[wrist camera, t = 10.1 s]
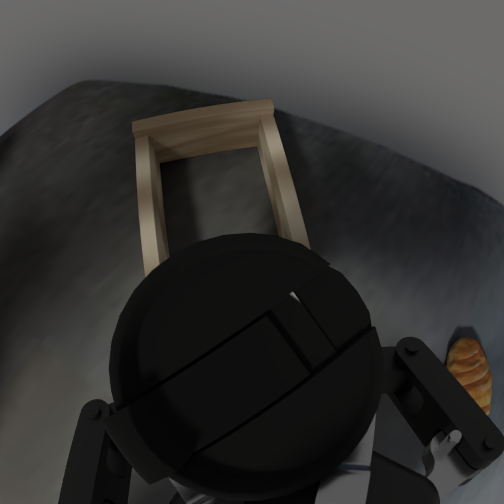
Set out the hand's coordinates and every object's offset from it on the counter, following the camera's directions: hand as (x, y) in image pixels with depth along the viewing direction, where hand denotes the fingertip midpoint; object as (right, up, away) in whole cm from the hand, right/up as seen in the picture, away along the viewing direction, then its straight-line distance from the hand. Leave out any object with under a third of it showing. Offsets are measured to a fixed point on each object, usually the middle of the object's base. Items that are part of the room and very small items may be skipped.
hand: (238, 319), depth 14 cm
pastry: (+22, -11, +12) cm, 28 cm away
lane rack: (-3, +7, +15) cm, 17 cm away
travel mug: (0, -5, +11) cm, 12 cm away
